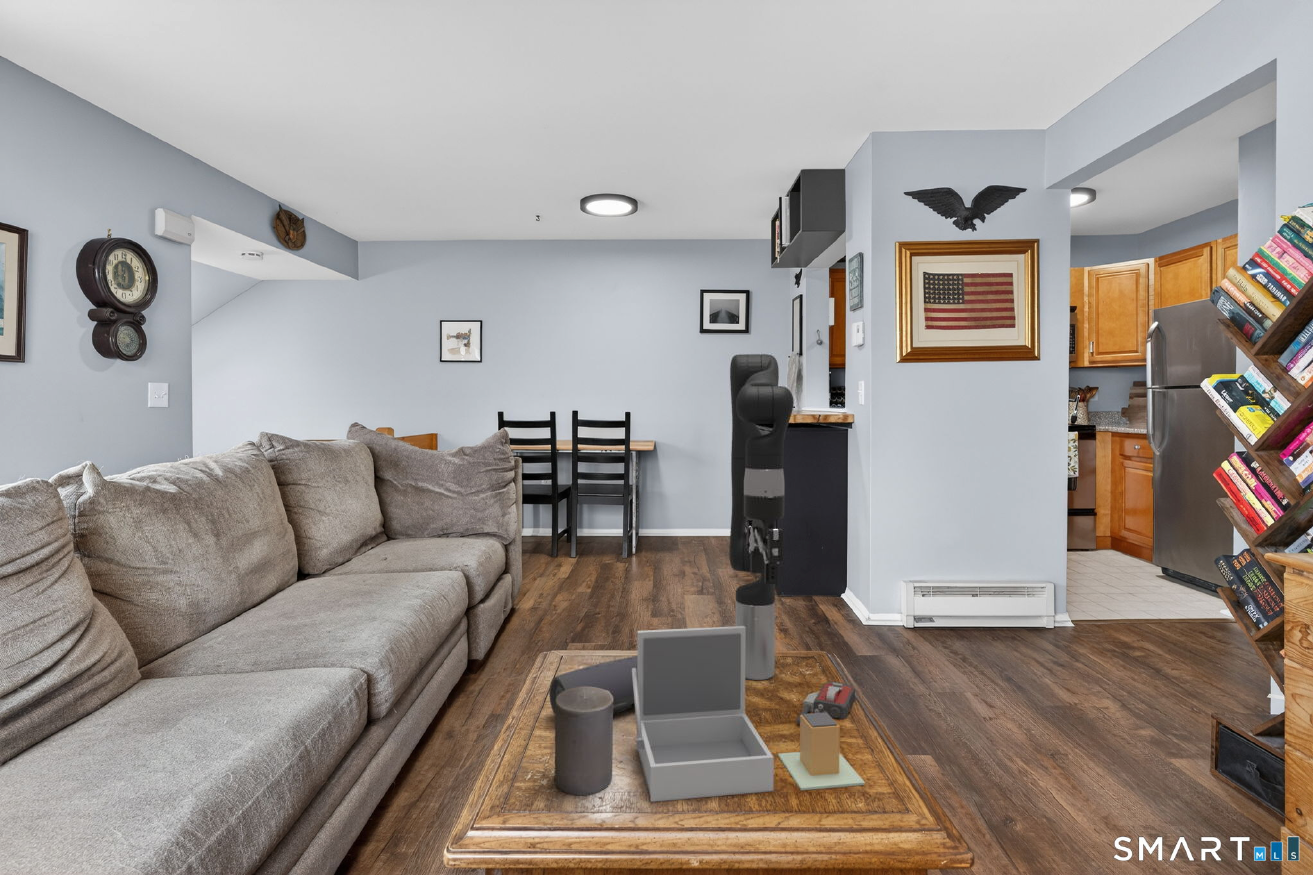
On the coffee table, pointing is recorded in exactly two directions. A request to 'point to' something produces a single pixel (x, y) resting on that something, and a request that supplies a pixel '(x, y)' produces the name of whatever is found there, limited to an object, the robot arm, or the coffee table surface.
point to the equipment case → (696, 715)
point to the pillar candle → (583, 740)
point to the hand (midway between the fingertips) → (763, 578)
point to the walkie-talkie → (830, 700)
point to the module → (819, 743)
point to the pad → (808, 782)
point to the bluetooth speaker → (600, 681)
